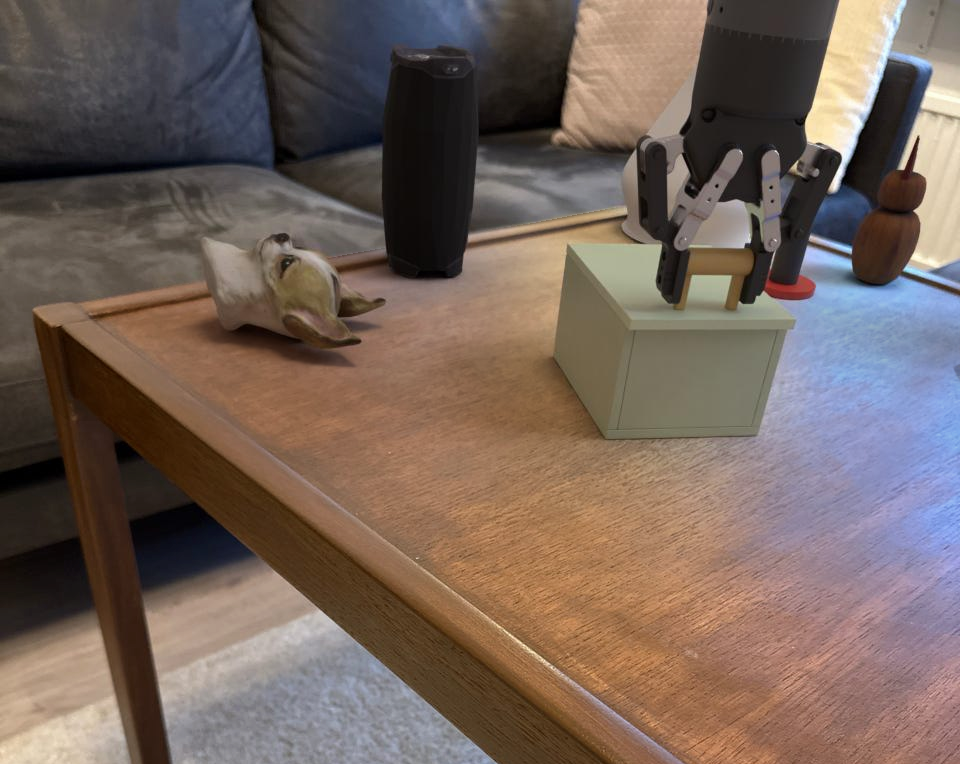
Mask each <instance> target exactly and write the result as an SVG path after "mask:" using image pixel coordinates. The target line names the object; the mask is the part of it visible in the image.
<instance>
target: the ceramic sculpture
mask: <svg viewBox="0 0 960 764" xmlns="http://www.w3.org/2000/svg"><path fill="white" fill-rule="evenodd" d="M200 248H201V254H202V264H203V273H204V278H205V283H206V288H207V290H208V292H209V294H210V296H211V297H212V299H213V302H214V305H215V307H216V309H215V311H216V314H217V318H218V321H220V324H221V325H222V327H223V328H224V329H226V330H227V331H235V330H237V329H239V328H240V327H243V326H245V325H252V326H256V327H259V328H264V329H267V330H269V331H271V332H274V333H276V334H280V335H282V336H285V337H290V338H293V339H297V340H301V341H302V342H304V343H306V344H307V345H309V346H310V347H313V348H315V349H322V350H325V349H326V350H327V349H328V350H329V349H340V348H346V347H351V346H352V347H353V346H358V345H360V344H362V342H363V341H362V340H363V339H361V338H360V337H358V336H356V335H355V334H353V332H351V330H350V329H349V327H347V325H346V323H345V321H343V320H342V318H354V317H357V316H360V315H363V314H366V313H369V312H372V311H374V310H377V309H379V308H381V307H383V306H385V305H386V304H387V299H386V298H384V297H379V296H378V297H372V298H368V297H367V298H366V297H365V296H364V295H362V294H361V293H359V292H358V291H352V289H351V288H350V287H349V286H348V285H346V284H345V283H342V282H341V277H340V274H339V272H338V270H337V268H336V267H335V265H334V264H333V262H331V260H330V259H329V258H328V257H327V256H326V255H325V254H324V253H322V252H320V251H319V250H315V249H313V250H312V249H310V248H308V247H305V246H304V247H303V246H294V245H293V241H292V239H291V237H290V235H289V234H288V232H287V233H286V232H280V233H279V232H278V233H271V234H270V235H269V236H268V237H263V238H261V239H260V240H259V241H258V242H257V243H256V245H255V246H254V248H252V249H251V250H243V249H241V248H238V247H236V246H235V245H233V244H231V243H226V242H223V241H219V240H214V239H212V238H210V237H208V236H203V237H202V238H201V240H200Z"/></svg>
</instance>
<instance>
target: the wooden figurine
mask: <svg viewBox="0 0 960 764" xmlns="http://www.w3.org/2000/svg"><path fill="white" fill-rule="evenodd" d="M920 140H921V135H919V134H918V135H917V136H916V139H915V142H914V144H913V146H912V148H911V151H910V154H909V156H908V159H907V162H906V164H905V166H904V169H893V170H891V171H889V172H888V173H887V174H886V175H885V176H884V178H883V180H882V181H881V182H880V186H879V189H878V191H877V202H878V205H879V207H876V208H874V209H872V210H871V211H870V212H869V213H868V214H867V215H865V216H864V218H863V220H862V221H861V223H860V224H859V226H858V227H857V230H856V232H855V235H854V238H853V241H852V245H851V267H852V272H853V274H854V275H855V277H856V278H857V279H858V280H861V281H863V282H865V283H867V284H872V285H885V284H891V283H892V282H894V281H895V280H897V279H898V278H899V276H900V275H901V274H902V273H903V272H904V270H905V268H906V267H907V265H908V264H909V263H910V260H911V259H912V257H913V255H914V253H915V251H916V248H917V245H918V243H919V239H920V234H921V225H922V223H921V221H920V217H919V215H918V213H916V212H915V210H917V209H918V208H920V206H921V205H922V203H923V201H924V198H925V195H926V192H927V183H928V182H927V178H926V177H925V176H924V175H922V174H921V173H919V172H915V171H914V169H915V165H916V160H917V157H918V150H919V144H920Z"/></svg>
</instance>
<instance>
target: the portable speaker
mask: <svg viewBox="0 0 960 764" xmlns="http://www.w3.org/2000/svg"><path fill="white" fill-rule="evenodd" d="M389 60H390V62H391V67H390V72H389V79H388V83H387V84H388V85H387V91H386V97H385V103H384V110H383V116H382V143H381V144H382V146H381V148H382V151H381V154H382V155H381V205H382V217H383V231H384V242H385V244H384V245H385V253H386V258H387V265H388V267H389V268H390V270H391V271H392V272H393V273H395V274H399V275H402V276H405V277H408V278H411V279H412V278H414V277H416V276H417V275H418V273H419V272H443V274H444V275H445V276H446V277H447V278H456V277H457V276H459V274H460V273H462V272H463V266H464V265H463V263H464V255H465V253H466V249H467V244H468V243H469V242H468V241H469V232H470V226H471V221H472V213H473V209H474V197H475V196H474V195H475V185H476V174H477V173H476V171H477V159H478V146H479V136H480V135H479V134H480V133H479V101H478V99H479V98H478V67H477V66H478V65H477V63H476V58H475V55H474V54H473V52H472V50H469V49H467V48H464V47H462V46H452V45H442V44H441V45H440V44H439V45H438V46H436V48H435V47H433V48H432V47H431V48H430V47H429V48H412V47H409V46H408V45H407V44H402V43H401V44H399V43H398V44H393V45H392V48H391V52H390V56H389Z"/></svg>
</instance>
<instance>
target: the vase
mask: <svg viewBox="0 0 960 764" xmlns="http://www.w3.org/2000/svg"><path fill="white" fill-rule="evenodd" d="M697 66H698V62H697V63H696V64H695V67H694V68H693V70H692V71H691V73H690V74H689V76H688V77H687V79H686V80H685V81H684V83H683V84H682V85H681V87H680V89H679V90H678V91H677V93H676V94H675V95H674V97H673V98H672V99H671V101H670V102H669V104H668V105H667V106H666V107H665V109H664V110H663V111H662V113H661V114H660V115H659V117H658V118H657V120H656V121H655V122H654V124H653V125H652V126H651V128H649V130H648V132H647V133H646V134H645V135H649V136H651V137H652V138H653V139H658V138H663V137H667V136H672V135H676V134H679V132H680V129H681V128H682V126H683V125H684V123H685V122H686V120H687V118H688V116H689V114H690V110H691V101H692V92H693V87H694V82H695V76H696V71H697ZM688 172H689V170H688V168H687V166H686V163H685V161H684V159H683V156H682V154H680V155H679V156H678V157H677V158H676V161H675V166H674V169H673V171H672V172H671V173H670V174H668V175H667V198H668V217H669V215H670V213H671V211H672V210H673V208H674V206H675V203H676V195H677V193H678V191H679V189H680V187H681V186H682V184H683V182H684V180H685V178H686V176H687V174H688ZM620 185H621V190H622V195H623V198H624V202H625V205H626V212H627V214H626V219H625V220H624V221H623V222H622V223H621V230H622V231H623V233H624V234H626V235H627V236H628V237H629V238H631V239H633V240H635V241H638V242H639V243H641V244H660V245H662V242H661V241H660V240H655V239H653V238H652V237H651V236H650V235H649V234H648V233H647V232H646V231H645V230H644V229H643V228H642V227H641V226H640V224H639V207H638V181H637V155H636V148H635V149H634V151H633V152H632V154H631V155H630V157H629V158H628V160H627V162H626V164H625V166H624V167H623V170H622V175H621V183H620ZM699 194H700V193H699ZM750 242H751V237H750V229H749V219H748V212H747V209H746V207H745V204H744V202H743V201H740V200H737V199H736V200H732V201H728V202H717V204H716V206H715V207H714V209H713V211H712V213H711V215H710V216H709V218H708V219H707V220H704V221H703V222H702V224H701V225H700V227H699V229H698V231H697V233H696V234H695V236H694V238H693V240H692V242H691V244H690V245H711V246H712V247H713V248H744V246H745V243H750Z"/></svg>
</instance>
